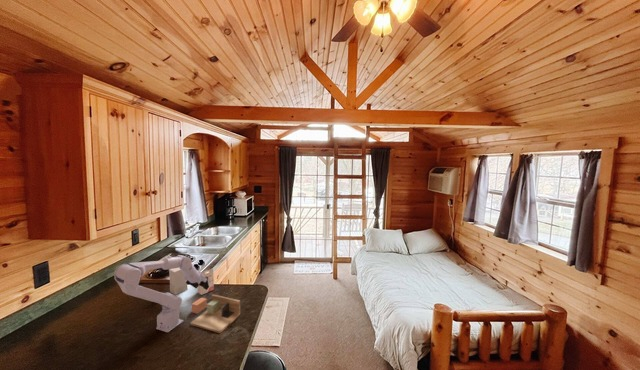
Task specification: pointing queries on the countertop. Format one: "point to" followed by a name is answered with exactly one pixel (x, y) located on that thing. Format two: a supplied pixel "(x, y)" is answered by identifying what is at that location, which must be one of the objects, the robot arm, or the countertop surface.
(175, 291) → the skincare box
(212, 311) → the sage green block
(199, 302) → the salmon orange block
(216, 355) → the countertop surface
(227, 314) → the bookend
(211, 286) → the ink cartridge box
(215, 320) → the shelf
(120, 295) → the countertop surface
